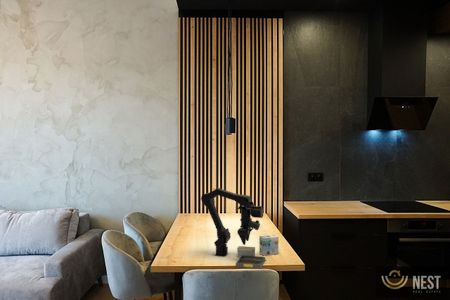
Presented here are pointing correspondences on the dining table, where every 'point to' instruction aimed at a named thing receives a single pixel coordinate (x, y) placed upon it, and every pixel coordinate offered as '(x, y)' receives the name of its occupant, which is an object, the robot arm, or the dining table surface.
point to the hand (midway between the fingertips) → (245, 242)
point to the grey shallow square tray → (250, 262)
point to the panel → (245, 251)
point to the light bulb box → (269, 244)
